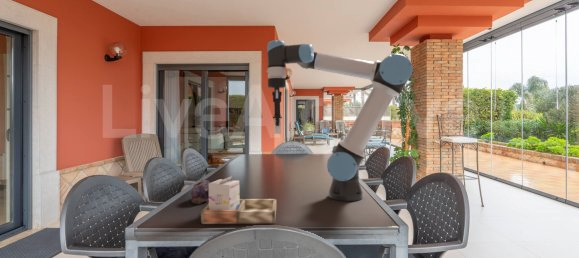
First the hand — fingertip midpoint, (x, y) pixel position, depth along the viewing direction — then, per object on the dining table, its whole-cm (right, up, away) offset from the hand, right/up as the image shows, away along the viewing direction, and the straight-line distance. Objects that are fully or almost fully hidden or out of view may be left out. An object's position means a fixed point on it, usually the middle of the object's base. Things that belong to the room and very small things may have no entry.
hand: (277, 133), depth 139 cm
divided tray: (-12, -30, -20) cm, 38 cm away
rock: (-33, -29, +1) cm, 44 cm away
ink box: (-19, -29, -21) cm, 40 cm away
